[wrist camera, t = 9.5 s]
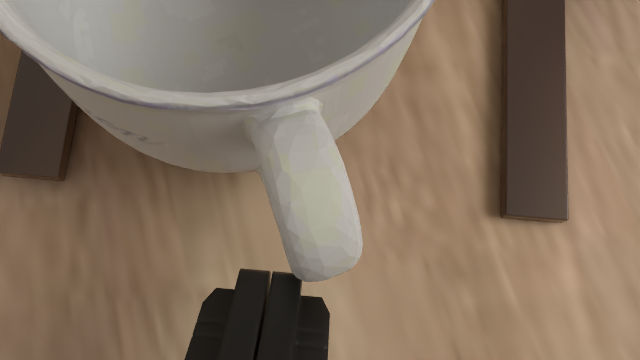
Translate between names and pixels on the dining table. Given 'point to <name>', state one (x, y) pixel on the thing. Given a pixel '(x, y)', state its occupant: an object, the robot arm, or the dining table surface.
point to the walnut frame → (517, 116)
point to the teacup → (233, 92)
